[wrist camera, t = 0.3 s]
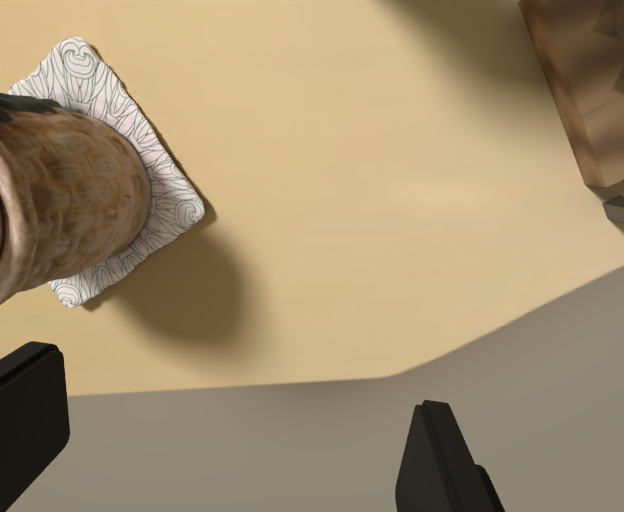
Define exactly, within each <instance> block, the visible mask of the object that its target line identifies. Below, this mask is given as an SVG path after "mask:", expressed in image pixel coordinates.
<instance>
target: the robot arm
mask: <svg viewBox="0 0 624 512" xmlns="http://www.w3.org/2000/svg"><path fill="white" fill-rule="evenodd" d="M69 436H70V427H69V415H68V404H67V392H66V380H65V369H64V357H63V354H62V352H60V351H59V349H58V347H57V346H56V345H54V344H48V343H41V342H35V341H33V342H29V343H26V344H25V345H23V346H21V347H20V348H18V349H17V350H15V351H13V352H12V353H10V354H8V355H7V356H5V357H4V358H2V359H0V512H6V511H7V509H8V508H9V507H10V506H11V505H12V504H13V503H14V502H15V501H16V500H17V499H18V498H19V497H20V495H21V494H22V493H23V492H24V491H25V490H26V489H27V488H28V487H29V485H31V483H32V482H33V481H34V480H35V479H36V478H37V477H38V476H39V475H40V474H41V473H42V472H43V470H44V469H45V468H46V467H47V466H48V465H49V464H50V463H51V462H52V461H53V460H54V459H55V457H56V456H57V455H58V454H59V453H60V452H61V451H62V450H63V448H64V447H65V446H66V444H67V442H68V440H69ZM395 498H396V506H397V512H505V510H504V508H503V506H502V504H501V502H500V499H499V497H498V495H497V493H496V491H495V488H494V486H493V484H492V482H491V480H490V478H489V475H488V474H487V472H486V470H485V469H484V468H483V467H482V466H481V465H475V463H474V461H473V459H472V456H471V454H470V452H469V449H468V447H467V445H466V442H465V440H464V438H463V435H462V433H461V431H460V429H459V426H458V424H457V422H456V419H455V417H454V415H453V412H452V410H451V408H450V406H449V404H447V403H443V402H436V401H429V400H424V402H423V404H422V405H416V406H415V409H414V413H413V417H412V421H411V425H410V429H409V434H408V438H407V442H406V446H405V450H404V454H403V459H402V462H401V467H400V471H399V475H398V479H397V483H396V490H395Z"/></svg>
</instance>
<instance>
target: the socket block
mask: <svg viewBox="0 0 624 512" xmlns="http://www.w3.org/2000/svg"><path fill="white" fill-rule="evenodd" d="M518 3H519V6H520V8H521V11H522V14H523V16H524V19H525V22H526V25H527V27H528V30H529V33H530V36H531V38H532V41H533V44H534V46H535V49H536V52H537V55H538V57H539V60H540V63H541V66H542V68H543V71H544V74H545V77H546V79H547V82H548V85H549V87H550V90H551V93H552V96H553V98H554V101H555V104H556V107H557V109H558V112H559V115H560V117H561V120H562V123H563V126H564V128H565V131H566V134H567V137H568V139H569V142H570V145H571V147H572V150H573V153H574V156H575V158H576V161H577V164H578V167H579V169H580V172H581V175H582V177H583V180H584V183H585V185H591V186H599V187H606V188H607V187H609V186H611V185H613V184H615V183H617V182H620V181H622V180H624V51H623V48H622V45H621V41H620V38H619V35H618V33H619V30H620V28H621V26H622V24H623V22H624V0H521V1H519V2H518Z"/></svg>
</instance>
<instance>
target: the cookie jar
mask: <svg viewBox="0 0 624 512" xmlns="http://www.w3.org/2000/svg"><path fill="white" fill-rule="evenodd" d="M204 215H205V210H204V204H203V201H202V199H201V198H200V197H199V196H198V194H197V193H196V191H195V190H194V188H193V187H192V185H191V183H190V182H189V181H188V180H187V179H186V177H185V176H184V175H183V174H182V172H181V171H180V170H179V169H178V167H177V166H176V165H175V163H174V162H173V160H172V159H171V157H170V156H169V154H168V153H167V151H166V150H165V149H164V147H163V146H162V145H161V143H160V142H159V140H158V138H157V136H156V134H155V132H154V131H153V129H152V127H151V125H150V124H149V122H148V121H147V120H146V119H145V117H144V116H143V115H142V113H141V112H140V110H139V109H138V107H137V105H136V103H135V102H134V101H133V100H132V99H131V98H130V97H129V96H128V95H127V93H126V92H125V90H124V89H123V87H122V85H121V82H120V80H119V79H118V78H117V77H116V76H115V75H114V73H113V71H112V70H111V69H110V68H109V67H108V65H107V64H106V63H104V62H103V61H102V60H101V59H100V58H99V57H98V55H97V54H96V53H95V52H94V50H93V49H92V48H91V47H90V45H89V44H88V43H87V42H86V40H85V39H83V38H80V37H68V38H67V40H64V41H62V42H59V43H58V44H57V45H56V46H55V47H54V48H53V49H52V50H51V52H50V53H49V55H48V56H47V57H46V60H43V61H41V63H40V64H39V66H38V67H37V69H36V70H35V71H34V72H32V73H31V74H30V75H29V76H28V77H27V78H23V79H22V80H21V81H19V82H18V83H16V84H15V85H13V86H12V87H11V88H10V90H9V92H8V94H4V93H0V305H1V304H2V303H4V302H5V301H6V300H8V299H9V298H11V297H12V296H13V295H15V294H16V293H17V292H21V291H26V290H30V289H33V288H36V287H38V286H40V285H43V284H45V283H48V284H49V285H50V286H52V289H53V291H54V292H56V293H57V294H58V296H59V300H60V301H61V303H63V304H64V305H65V306H67V307H69V308H75V307H76V306H79V305H81V304H83V303H85V302H86V301H87V300H88V299H90V298H94V297H95V296H96V295H98V294H101V293H102V292H103V289H105V288H106V287H108V286H110V285H113V284H115V283H117V282H118V281H120V280H121V279H122V278H124V277H125V276H126V275H128V274H129V273H130V272H131V271H132V270H133V269H134V268H135V267H136V266H137V265H138V264H139V263H141V262H142V261H143V260H145V259H146V257H147V256H148V255H149V254H151V253H153V252H155V251H156V250H157V249H159V248H161V247H163V246H165V245H167V244H168V243H170V242H172V241H173V240H175V239H176V238H177V237H178V235H180V234H182V233H184V232H187V231H188V230H189V229H190V228H191V227H192V226H193V225H194V224H196V223H197V222H198V221H199V220H201V218H202V217H203V216H204Z"/></svg>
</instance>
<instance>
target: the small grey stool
mask: <svg viewBox="0 0 624 512" xmlns="http://www.w3.org/2000/svg"><path fill="white" fill-rule="evenodd" d="M602 204H603V207H604V209H605V212H606V215H607V218H608V219H612V220H616V221H619V222H623V223H624V196H622V195H620V196H618V197H615V198H613V199H611V200H609V201H607V202H605V203H602Z"/></svg>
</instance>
